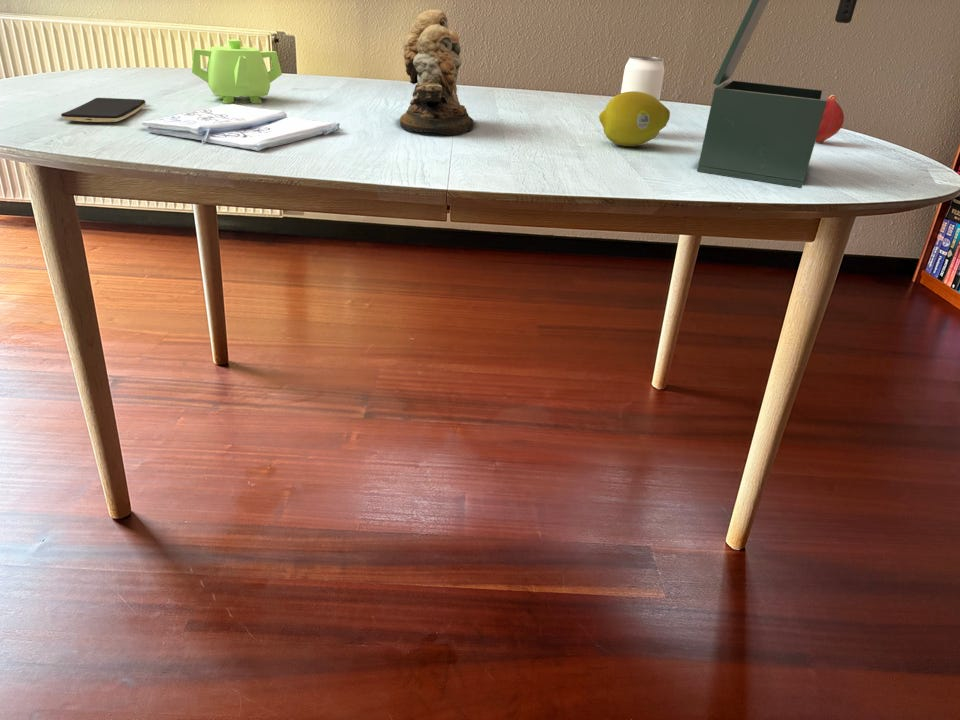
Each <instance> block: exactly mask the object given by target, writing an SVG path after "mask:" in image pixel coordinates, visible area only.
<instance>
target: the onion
mask: <svg viewBox="0 0 960 720" xmlns="http://www.w3.org/2000/svg"><path fill="white" fill-rule="evenodd" d="M837 99H838V97H837V95H836V94H831V95H830V96H828V97H827V103H826V107H825V110H824V114H823V117H822V120H821V124H820V127H819V131H818V134H817V138H816V141H815V143H816V144H821V143H824V142H825V141H827V140H828V139H830V138H832V137H833V136H835V135H836V134H837V133H838V132H840V131H841V129H842V127H843V124H844V120H845V116H844V115H845V114H844V111H843V108H842V106H841V105H840V104H839V103H838V102H837Z"/></svg>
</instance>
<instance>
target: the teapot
mask: <svg viewBox="0 0 960 720" xmlns="http://www.w3.org/2000/svg"><path fill="white" fill-rule="evenodd" d="M227 43H228V45H229V46H227V45H226V46H224V45H223V46H221V45H217V46H216V45H214V46H211V47H210V49H203V48H202V49H199V48H192V60H191V73H192V74H194V76H197V78H200V79H201V80H203V81H204V82H206V83H207V86H208V88H209V89H210V91H211V93H212V94H214V95H215V96H218V99H222V101H221V102H222V103H224V104H235V97H245V98H246V99H249V101H250V103H252V104H262V103H263V101H262V99H261V98H260V97H265V96H268V95H269V92H270V90H271V83H273V82H274V81H275V80H276V79H278V78H279V77H280V76H282V75H283V72H282V68H281V64H280V60H279V56H278V52H277V51H275V50H270V51H269V50H266V51H265V50H263V51H261V50H259V49H258V48H256V47H250V46H249V47H248V46H242V40H241V39H233V38H232V39H231V38H230V39H227ZM201 56H203V57H208V59H207V65H206V70H204V69H203V68H202V66H201V65H202V63H201ZM266 58H270V63H271V69H270V70H269V71H268V68H267V66H266V62H265V60H264V59H266Z"/></svg>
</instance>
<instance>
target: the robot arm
mask: <svg viewBox="0 0 960 720" xmlns="http://www.w3.org/2000/svg"><path fill="white" fill-rule="evenodd" d="M857 2H858V0H839V3H838V7H837V10H836V13H835V17H834V21H835V22H836V23H838V24H839V23H840V24H849V23H851V22H852V19H853V16H854V12H855V8H856V5H857Z"/></svg>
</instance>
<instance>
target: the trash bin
mask: <svg viewBox="0 0 960 720" xmlns="http://www.w3.org/2000/svg"><path fill="white" fill-rule="evenodd" d="M827 98H829V90H826V89H817V88H808V87H799V86H791V85H780V84H773V83H772V84H771V83H763V82H753V81H746V80H744V81H743V80H736V79H735V80H734V79H728V80H726V81H725V82H723V83H721V84H720V85H717V86H716V87H715V88H714V90H713V95H712V99H711V104H710V108H709V114H708V118H707V122H706V127H705V131H704V137H703V141H702V145H701V151H700V156H699V160H698V164H697V168H696V171H697V173H705V174H710V175H711V174H712V175H717V176H724V177H731V178H737V179H743V180H748V181H749V180H750V181H755V182H762V183H769V184H775V185H782V186H788V187H795V188H803V186H804V183H805V178H806V175H807V172H808V169H809V165H810V161H811V157H812V154H813V151H814V147H815V145H816V138H817V134H818V131H819V127H820V124H821V120H822V117H823V114H824V110H825V107H826V103H827Z"/></svg>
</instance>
